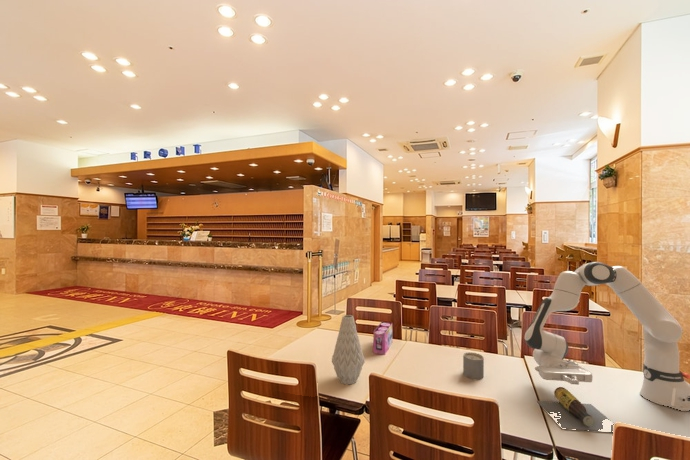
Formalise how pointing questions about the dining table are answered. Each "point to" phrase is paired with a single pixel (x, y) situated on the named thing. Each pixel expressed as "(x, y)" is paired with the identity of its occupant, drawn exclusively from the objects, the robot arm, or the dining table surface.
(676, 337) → the robot arm
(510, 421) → the dining table surface
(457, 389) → the dining table surface
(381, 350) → the pink multipack
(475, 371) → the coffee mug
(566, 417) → the placemat
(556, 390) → the sauce bottle
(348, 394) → the dining table surface
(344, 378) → the vase
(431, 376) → the dining table surface
